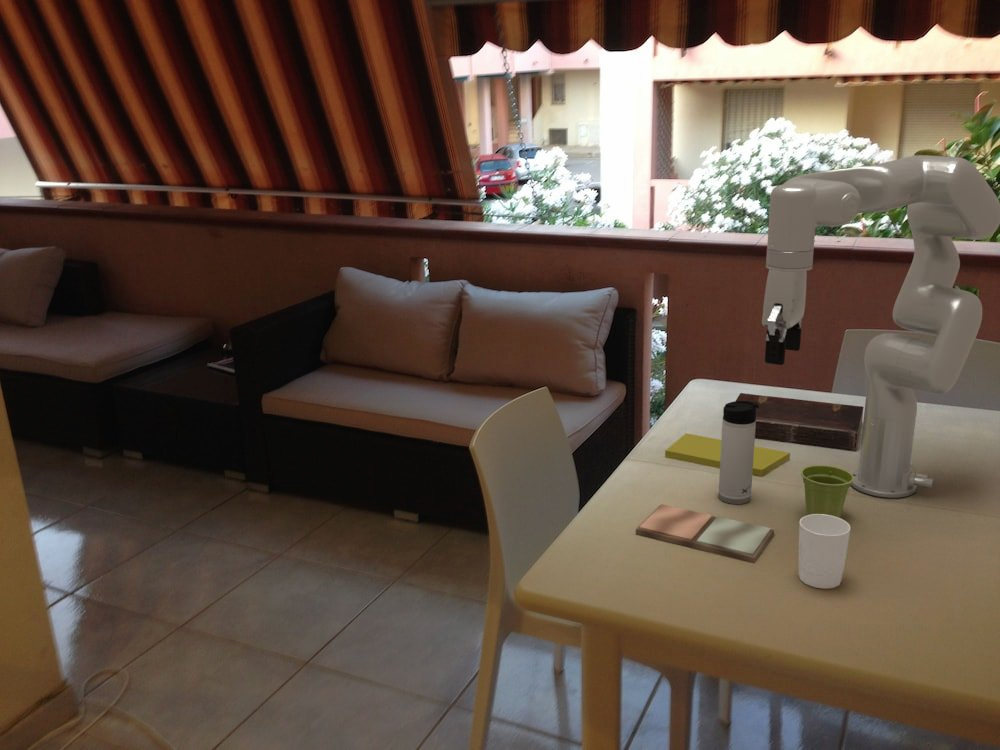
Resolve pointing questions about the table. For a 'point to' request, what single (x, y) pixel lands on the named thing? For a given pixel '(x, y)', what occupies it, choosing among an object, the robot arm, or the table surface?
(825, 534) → the white cup
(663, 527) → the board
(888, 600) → the table surface
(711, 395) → the table surface
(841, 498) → the plant pot
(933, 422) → the table surface
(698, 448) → the flat olive board
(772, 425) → the hardback book
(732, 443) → the travel mug
